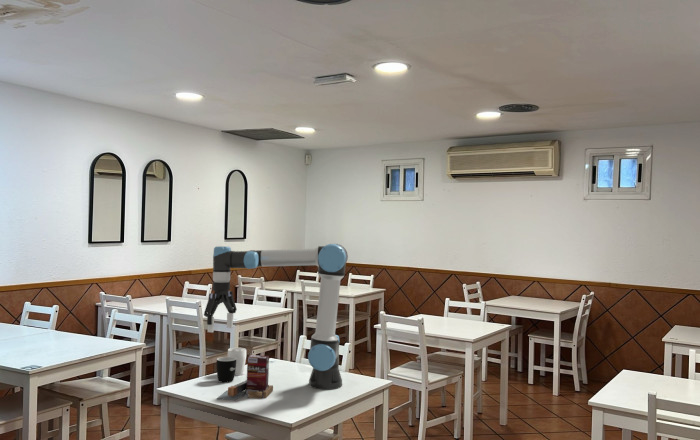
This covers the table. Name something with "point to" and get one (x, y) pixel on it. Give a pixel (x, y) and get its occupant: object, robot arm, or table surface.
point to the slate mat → (226, 397)
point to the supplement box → (257, 373)
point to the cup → (238, 359)
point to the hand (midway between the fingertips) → (220, 330)
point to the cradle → (259, 394)
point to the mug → (226, 369)
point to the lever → (237, 388)
